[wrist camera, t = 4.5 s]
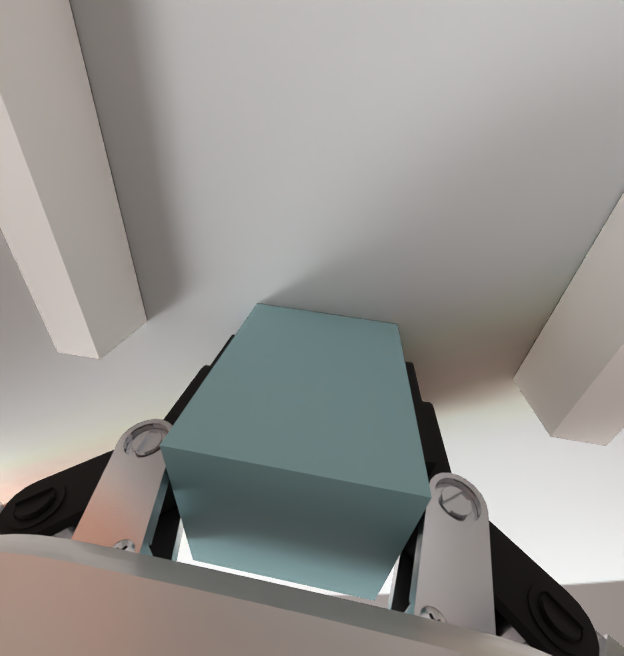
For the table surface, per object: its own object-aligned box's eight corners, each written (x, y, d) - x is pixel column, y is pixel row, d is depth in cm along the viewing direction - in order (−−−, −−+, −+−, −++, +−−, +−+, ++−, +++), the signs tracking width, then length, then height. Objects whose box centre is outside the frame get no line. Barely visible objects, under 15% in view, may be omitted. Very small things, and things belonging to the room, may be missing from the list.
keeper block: (369, 421, 13) (374, 600, 8) (258, 402, 13) (193, 560, 8) (397, 323, 10) (431, 497, 5) (257, 303, 11) (159, 445, 5)
